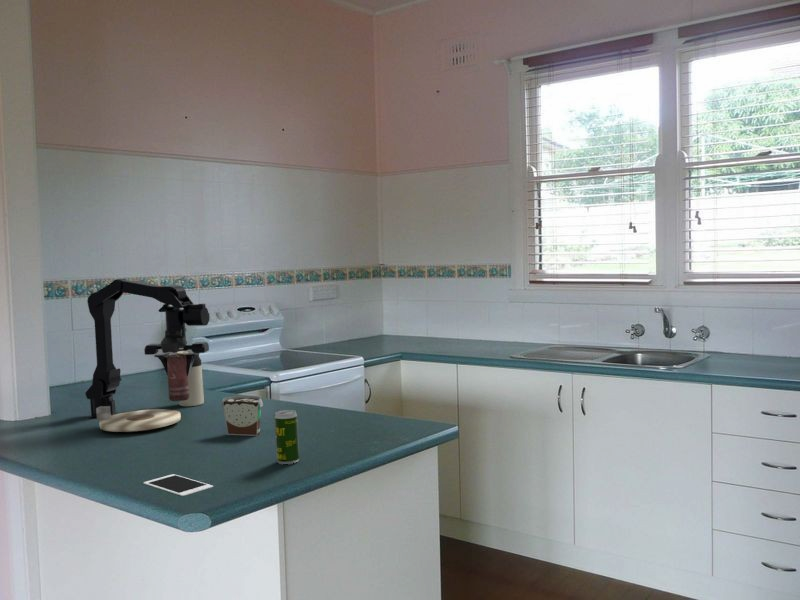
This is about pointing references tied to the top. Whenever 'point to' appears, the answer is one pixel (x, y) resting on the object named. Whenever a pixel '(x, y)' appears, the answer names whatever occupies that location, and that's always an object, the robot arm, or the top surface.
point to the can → (177, 377)
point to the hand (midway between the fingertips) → (178, 375)
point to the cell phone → (178, 484)
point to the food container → (242, 415)
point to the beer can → (286, 437)
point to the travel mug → (194, 383)
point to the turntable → (135, 419)
